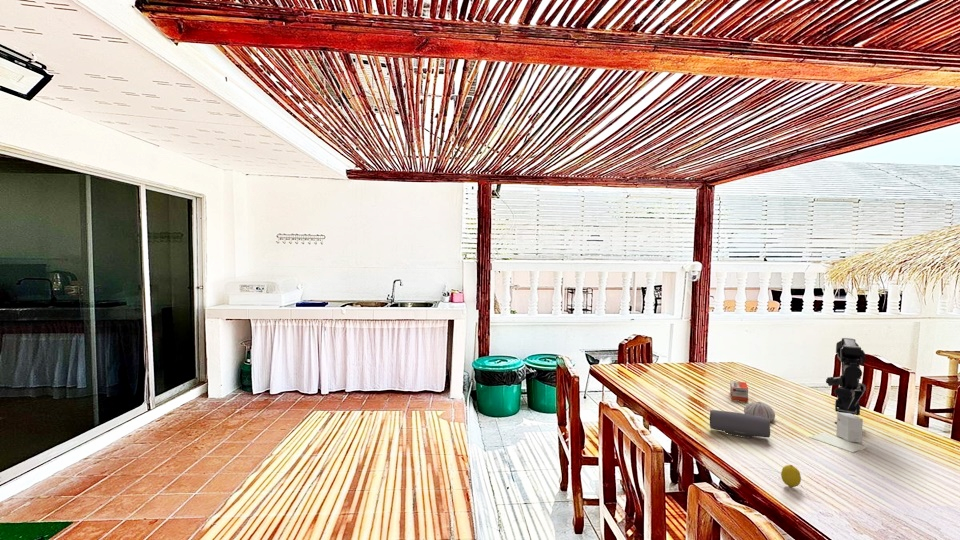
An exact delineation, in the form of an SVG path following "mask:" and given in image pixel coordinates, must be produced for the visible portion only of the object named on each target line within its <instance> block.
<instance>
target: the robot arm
mask: <svg viewBox="0 0 960 540" xmlns="http://www.w3.org/2000/svg"><path fill="white" fill-rule="evenodd" d="M835 354H837V359H838V360H839V361H840V363H841V375H840V376H837V377H836V376H835V377H833V376H828V377H827V378H826V380H825V383H826V384H827V385H828V387H832V386H838V387H836V388H834V394H835V395H836V396H837V397H836V398H835V401H834V411H835V412H836V413H837V412H841V413H850V414H853V415H855V416H859V415H860V413H861V405H860V403H859V401H860V399H861V397H862V396H863V395H864V393H865V391H867V385H865V384H864V383H862V382H860V380H861V379H862V376H863V371H862V370H861V368H860V366H861V365H864V364H865V363H866V352H865V351H864V349H862V347H861V346H859V344H858V343H857V342H856V339H854V338H851V337H849V338H848V337H842V338H841V340H840V341H837V342H836V345H835ZM834 423H835V424H836V425H837V421H834Z"/></svg>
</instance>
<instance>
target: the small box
mask: <svg viewBox="0 0 960 540" xmlns="http://www.w3.org/2000/svg"><path fill="white" fill-rule="evenodd" d="M863 420H864V419H862V418H861V417H859V416H858V415H853V414H850V413H841V412H836V422H837V424H836V436H837V437H838V438H840V439H843V440H846V441H849V442H852V443H861V444H862V443H863V425H864V424H863V423H864V421H863Z"/></svg>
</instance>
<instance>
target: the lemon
mask: <svg viewBox="0 0 960 540" xmlns="http://www.w3.org/2000/svg"><path fill="white" fill-rule="evenodd" d="M780 476H781V480H782V482H783V483H784V484H785V485H786V486H788V487H789V488H791V489H792V488H795V487H798V486H799V485H800V484H801V481H802V477H801V473H800V471H799V469H798V468H797V467H796V466H794V465H793V464H788V465H784V466H783V467H782V469H781V472H780Z"/></svg>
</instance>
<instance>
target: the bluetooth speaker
mask: <svg viewBox="0 0 960 540" xmlns="http://www.w3.org/2000/svg"><path fill="white" fill-rule="evenodd" d="M709 412H710V413H709V428H710V429H711V430H716V431H719V432H724V433H725V434H726V433H728V434H727V435H729V434H732V435H731V436H734V435H738V436H737V437H741V436H742V438H747V437H749V439H752V438H753V437H758V438H769V439H770V437H771V424H770V423H771V421H769V418H765V417H760V416H755V415H749V414H745V413H742V412H737V411H736V412H735V411H727V410H716V409H710V410H709ZM751 437H752V438H751Z"/></svg>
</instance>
